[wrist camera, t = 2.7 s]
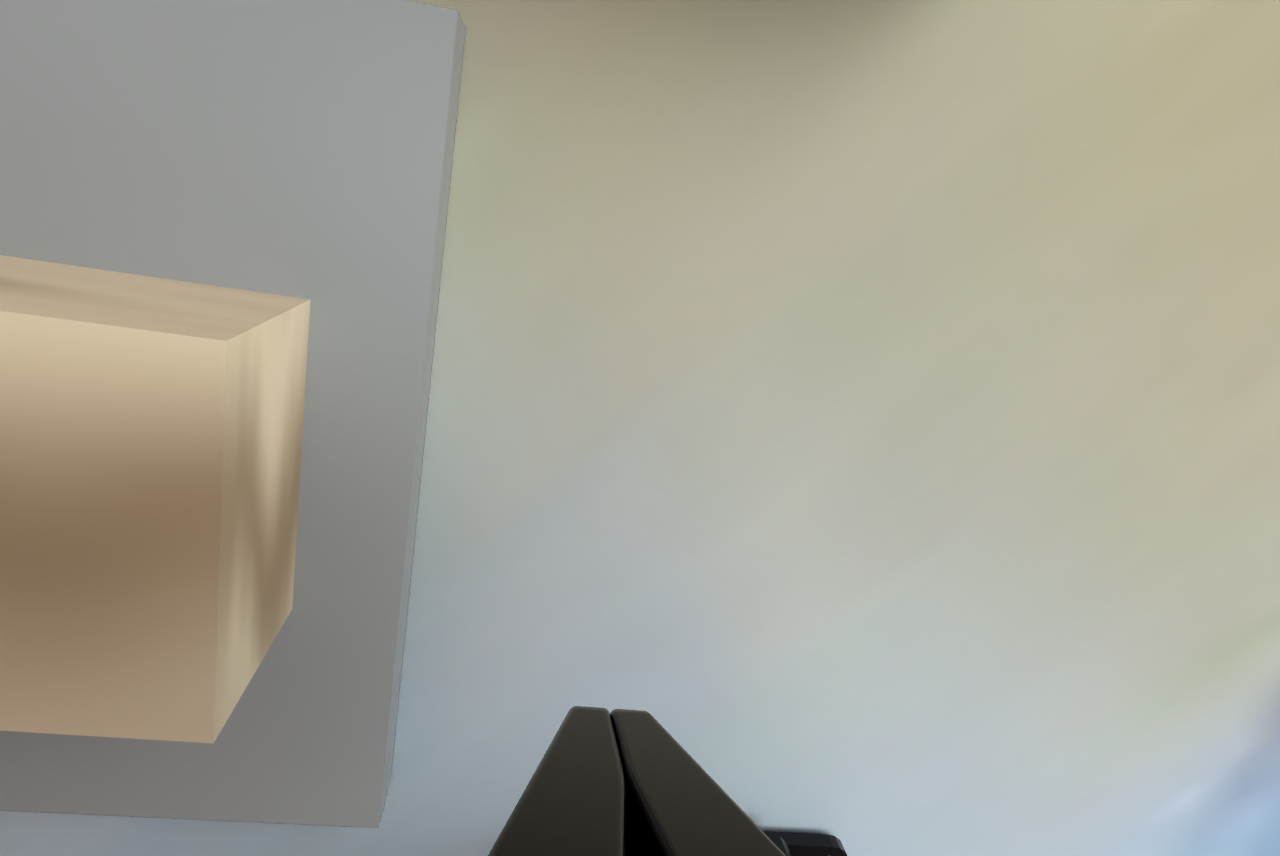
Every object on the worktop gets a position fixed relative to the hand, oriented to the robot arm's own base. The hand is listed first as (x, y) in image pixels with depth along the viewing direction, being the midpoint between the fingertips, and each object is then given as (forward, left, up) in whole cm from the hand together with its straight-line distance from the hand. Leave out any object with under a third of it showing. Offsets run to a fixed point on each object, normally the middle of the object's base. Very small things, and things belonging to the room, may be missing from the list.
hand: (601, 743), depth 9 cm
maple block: (0, +8, -7) cm, 11 cm away
